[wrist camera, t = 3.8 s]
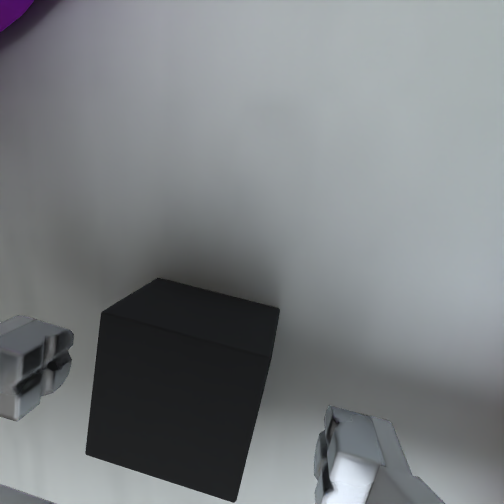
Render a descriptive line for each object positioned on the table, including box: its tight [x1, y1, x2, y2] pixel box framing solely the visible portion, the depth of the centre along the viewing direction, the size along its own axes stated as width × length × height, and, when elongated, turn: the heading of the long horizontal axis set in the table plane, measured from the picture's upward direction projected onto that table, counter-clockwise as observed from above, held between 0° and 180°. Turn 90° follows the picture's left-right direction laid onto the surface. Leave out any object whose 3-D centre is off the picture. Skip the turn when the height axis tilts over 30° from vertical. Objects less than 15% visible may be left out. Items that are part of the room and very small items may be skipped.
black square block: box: [85, 278, 280, 503], centre depth 9 cm, size 4×4×3 cm
